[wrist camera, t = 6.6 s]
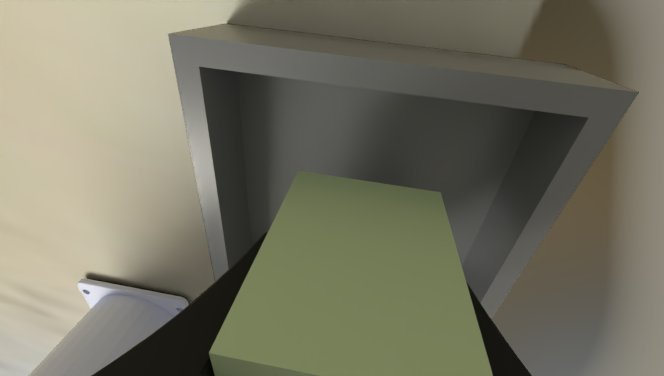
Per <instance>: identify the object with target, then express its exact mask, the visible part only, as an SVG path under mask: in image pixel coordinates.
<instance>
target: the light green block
mask: <svg viewBox="0 0 664 376" xmlns="http://www.w3.org/2000/svg"><path fill="white" fill-rule="evenodd" d="M209 356H210V360H211V363H212V367H213V371H214V375H215V376H493V374H492V370H491V367H490V363H489V360H488V356H487V353H486V349H485V346H484V342H483V339H482V335H481V332H480V328H479V325H478V321H477V318H476V314H475V311H474V307H473V304H472V300H471V297H470V293H469V290H468V286H467V283H466V279H465V276H464V272H463V269H462V265H461V262H460V258H459V255H458V251H457V248H456V244H455V241H454V237H453V234H452V230H451V227H450V223H449V220H448V216H447V213H446V209H445V206H444V202H443V199H442V195H441V192H436V191H429V190H423V189H416V188H409V187H403V186H396V185H390V184H383V183H377V182H370V181H363V180H357V179H350V178H344V177H337V176H331V175H324V174H318V173H311V172H304V171H298V172H297V174H296V176H295V178H294V180H293V182H292V184H291V186H290V188H289V190H288V192H287V195H286V197H285V199H284V201H283V203H282V205H281V207H280V209H279V211H278V213H277V215H276V217H275V219H274V221H273V223H272V225H271V227H270V229H269V231H268V233H267V235H266V237H265V239H264V241H263V243H262V246H261V248H260V250H259V252H258V254H257V256H256V258H255V260H254V262H253V264H252V266H251V268H250V270H249V272H248V274H247V276H246V278H245V280H244V282H243V284H242V286H241V288H240V290H239V292H238V294H237V297H236V299H235V301H234V303H233V305H232V307H231V309H230V311H229V313H228V315H227V317H226V319H225V321H224V323H223V325H222V327H221V329H220V331H219V333H218V335H217V337H216V339H215V341H214V343H213V345H212V347H211V350H210V352H209Z"/></svg>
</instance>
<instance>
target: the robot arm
mask: <svg viewBox="0 0 664 376" xmlns="http://www.w3.org/2000/svg"><path fill="white" fill-rule="evenodd" d="M267 233H268V232H266V233H264V234H263V235H262V236H261V237H260V238H259V239H258V240H257V241H256V242H255V243H254V245H253V246H252V247H251V248H250V249H249V250H248V251H247V252H246V253H245V254H244V255H243V256H242V257H241V258H240V259H239V260H238V261H237V262H236V263H235V264H234V265H233V266H232V267H231V268H230V269H229V270H227V271H226V272H225V273H224V274H223V275H222V276H221V277H220V278H219V279H218V280H217V281H216V282H215V283H214V284H212V285H211V286H210V287H209V288H208V289H207V290H206V291H204V292H203V293H202V294H201V295H200V296H199V297H197V298H196V299H195V300H194V301H193V302H192V303H191V304H188V301H187V300H186V299H185V298H183V297H180V296H175V295H170V294H164V293H159V292H154V291H149V290H143V289H138V288H133V287H128V286H122V285H117V284H112V283H107V282H101V281H96V280H91V279H81V280H80V281H79V282H78V283H77V285H78V287H79V289H80V291H81V293H82V294H83V296H84V298H85V300H86V301H87V303H88V305H89V306H90V308H91V310H90V311H89V312H88V313H87V314H86V315H85V316H84V317H83V318H82V319H81V320H80V321H79V322H78V323H77V325H76V326H75V327H74V328H73V329H72V330H71V331H70V332H69V333H68V334H67V335H66V336H65V337H64V338H63V340H62V341H61V342H60V343H59V344H58V345H57V346H56V347H55V348H54V349H53V350H52V351H51V352H50V353H49V354H48V356H47V357H46V358H45V359H44V360H43V361H42V362H41V363H40V364H39V365H38V366H37V367H36V368H35V369H34V371H33V372H32V373H31V374H30V375H29V376H215V375H214V371H213V367H212V363H211V360H210V356H209V352H210V350H211V347H212V345H213V343H214V341H215V339H216V337H217V335H218V333H219V331H220V329H221V327H222V325H223V323H224V321H225V319H226V317H227V315H228V313H229V311H230V309H231V307H232V305H233V303H234V301H235V299H236V297H237V294H238V292H239V290H240V288H241V286H242V284H243V282H244V280H245V278H246V276H247V274H248V272H249V270H250V268H251V266H252V264H253V262H254V260H255V258H256V256H257V254H258V252H259V250H260V248H261V246H262V243H263V241H264V239H265V237H266V235H267ZM466 283H467V281H466ZM467 286H468V290H469V293H470V297H471V300H472V304H473V307H474V311H475V314H476V318H477V321H478V325H479V328H480V332H481V335H482V339H483V342H484V346H485V349H486V353H487V356H488V360H489V363H490V367H491V370H492V374H493V376H531V374H530V373H529V372H528V370H527V369H526V368H525V366H524V365H523V364H522V362H521V361H520V360H519V358H518V357H517V356H516V354H515V353H514V351H513V350H512V349H511V347H510V346H509V344H508V343H507V342H506V340H505V339H504V337H503V336H502V334H501V333H500V332H499V330H498V329H497V327H496V326H495V324H494V323H493V321H492V320H491V318H490V317H489V315H488V314H487V312H486V311H485V309H484V308H483V306H482V305H481V303H480V302H479V300H478V299H477V297H476V295H475V294H474V292H473V291H472V289H471V288H470V286H469V284H468V283H467Z"/></svg>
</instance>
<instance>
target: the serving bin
mask: <svg viewBox="0 0 664 376" xmlns="http://www.w3.org/2000/svg"><path fill="white" fill-rule="evenodd" d="M168 36H169V41H170V46H171V52H172V57H173V62H174V67H175V73H176V78H177V83H178V89H179V94H180V99H181V104H182V110H183V115H184V120H185V125H186V131H187V136H188V141H189V147H190V152H191V157H192V162H193V168H194V173H195V178H196V184H197V189H198V194H199V199H200V205H201V210H202V215H203V220H204V226H205V231H206V236H207V242H208V247H209V252H210V257H211V263H212V268H213V273H214V279H215V282H216V281H217V280H218V279H219V278H220V277H221V276H222V275H223V274H224V273H225V272H226V271H227V270H229V269H230V268H231V267H232V266H233V265H234V264H235V263H236V262H237V261H238V260H239V259H240V258H241V257H242V256H243V255H244V254H245V253H246V252H247V251H248V250H249V249H250V248H251V247H252V246H253V245H254V243H255V242H256V241H257V240H258V239H259V238H260V237H261V236H262V235H263V234H264V233H266V232H268V231H269V229H270V227H271V225H272V223H273V221H274V219H275V217H276V215H277V213H278V211H279V209H280V207H281V205H282V203H283V201H284V199H285V197H286V195H287V192H288V190H289V188H290V186H291V184H292V182H293V180H294V178H295V176H296V174H297V172H298V171H304V172H311V173H318V174H324V175H331V176H337V177H344V178H350V179H357V180H363V181H370V182H377V183H383V184H390V185H396V186H403V187H409V188H416V189H423V190H429V191H436V192H441V195H442V199H443V202H444V206H445V209H446V213H447V216H448V220H449V223H450V227H451V230H452V234H453V237H454V241H455V244H456V248H457V251H458V255H459V258H460V262H461V265H462V269H463V272H464V276H465V279H466V281H467V283H468V284H469V286H470V288H471V289H472V291H473V292H474V294H475V295H476V297H477V299H478V300H479V302H480V303H481V305H482V306H483V308H484V309H485V311H486V312H487V314H488V315H489V317H490V318H491V319H492V318H493V316H494V315H495V313H496V311H497V310H498V308H499V307H500V305H501V304H502V302H503V301H504V299H505V297H506V296H507V294H508V293H509V291H510V290H511V288H512V287H513V285H514V284H515V282H516V281H517V279H518V278H519V276H520V275H521V273H522V271H523V270H524V268H525V267H526V265H527V263H528V262H529V260H530V259H531V258H532V256H533V254H534V253H535V251H536V250H537V248H538V247H539V245H540V243H541V242H542V241H543V239H544V237H545V236H546V234H547V233H548V231H549V230H550V228H551V227H552V225H553V223H554V222H555V221H556V219H557V218H558V216H559V214H560V213H561V211H562V210H563V208H564V206H565V205H566V204H567V202H568V200H569V199H570V197H571V196H572V194H573V193H574V191H575V190H576V188H577V187H578V185H579V184H580V182H581V181H582V179H583V177H584V176H585V174H586V173H587V171H588V170H589V168H590V166H591V165H592V164H593V162H594V160H595V159H596V157H597V156H598V154H599V153H600V151H601V150H602V148H603V147H604V145H605V144H606V142H607V140H608V139H609V137H610V136H611V134H612V133H613V131H614V130H615V128H616V127H617V125H618V123H619V122H620V120H621V119H622V117H623V116H624V114H625V113H626V111H627V110H628V108H629V107H630V105H631V104H632V102H633V100H634V99H635V97H636V96H637V94H638V93H639V92H637V91H634V90H632V89H629V88H626V87H624V86H621V85H619V84H616V83H613V82H611V81H608V80H605V79H603V78H600V77H598V76H595V75H592V74H590V73H587V72H584V71H582V70H579V69H577V68H573V67H571V66H569V65H566V64H558V63H549V62H542V61H533V60H525V59H517V58H508V57H500V56H492V55H483V54H475V53H466V52H458V51H450V50H441V49H433V48H425V47H416V46H408V45H400V44H391V43H383V42H375V41H366V40H358V39H349V38H341V37H333V36H324V35H316V34H308V33H299V32H291V31H283V30H274V29H266V28H258V27H249V26H241V25H232V24H221V25H215V26H209V27H204V28H198V29H192V30H187V31H181V32H176V33H170V34H168Z"/></svg>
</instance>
